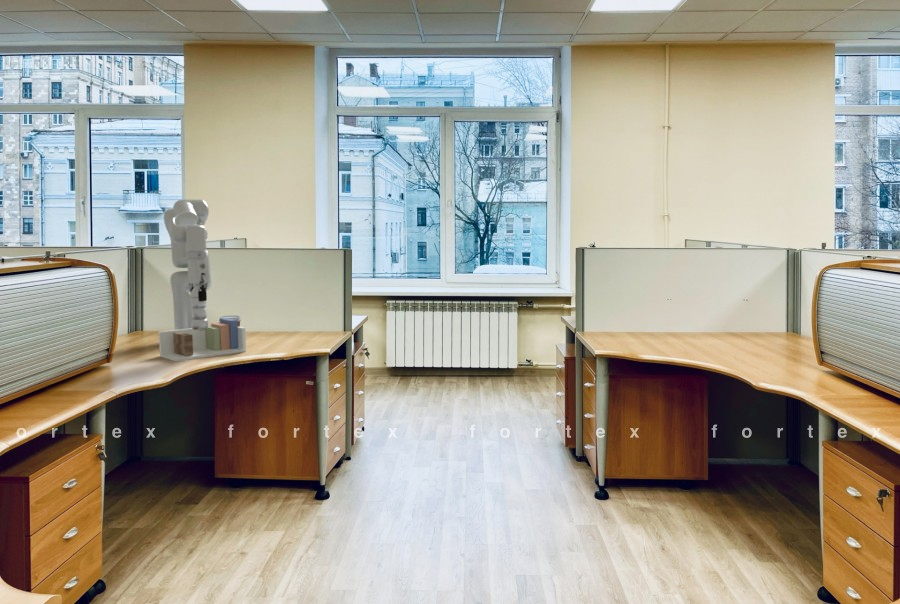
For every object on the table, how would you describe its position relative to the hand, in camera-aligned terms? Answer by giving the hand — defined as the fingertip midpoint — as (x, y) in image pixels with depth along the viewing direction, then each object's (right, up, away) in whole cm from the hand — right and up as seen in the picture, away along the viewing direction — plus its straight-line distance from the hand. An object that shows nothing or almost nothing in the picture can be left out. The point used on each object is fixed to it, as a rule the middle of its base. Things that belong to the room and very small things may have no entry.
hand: (198, 299), depth 288 cm
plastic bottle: (0, -13, +1) cm, 13 cm away
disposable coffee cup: (+4, -20, +29) cm, 35 cm away
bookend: (-5, -22, -2) cm, 22 cm away
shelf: (0, -22, +4) cm, 23 cm away
